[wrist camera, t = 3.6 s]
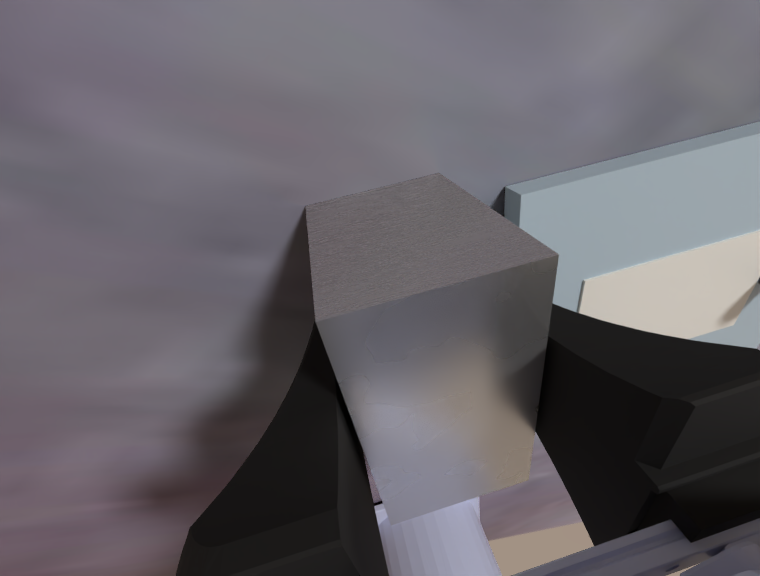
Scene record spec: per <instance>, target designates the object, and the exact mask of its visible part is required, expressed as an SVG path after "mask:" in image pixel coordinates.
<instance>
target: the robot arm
mask: <svg viewBox="0 0 760 576" xmlns="http://www.w3.org/2000/svg"><path fill="white" fill-rule="evenodd" d="M535 431H536V433H537V435H538V436H539V438H540V440H541V442H542V444H543V446H544V447H545V449H546V451H547V453H548V455H549V456H550V458H551V460H552V462H553V464H554V466H555V468H556V470H557V472H558V473H559V475H560V477H561V479H562V481H563V483H564V485H565V487H566V489H567V491H568V493H569V495H570V497H571V499H572V501H573V503H574V505H575V507H576V509H577V511H578V513H579V515H580V517H581V519H582V521H583V523H584V525H585V527H586V529H587V531H588V533H589V536H590V538H591V540H592V542H593V544H594V547H591V548H588V549H585V550H583V551H580V552H577V553H574V554H571V555H568V556H566V557H563V558H560V559H557V560H554V561H551V562H549V563H546V564H543V565H540V566H537V567H534V568H532V569H529V570H526V571H523V572H520V573H517V574H515V575H512V576H666V575H669V574H671V573H674V572H677V571H680V570H682V569H685V568H688V567H690V566H693V565H696V564H698V565H696V566H694V567H692V568H690V569H688V570H686V571H685V572H682V573H681V574H680V576H760V351H759V350H758V349H755V348H748V347H740V346H733V345H725V344H717V343H709V342H702V341H695V340H689V339H684V338H678V337H672V336H667V335H661V334H657V333H652V332H647V331H642V330H638V329H634V328H630V327H626V326H622V325H617V324H614V323H610V322H606V321H603V320H599V319H596V318H593V317H590V316H587V315H583V314H580V313H577V312H574V311H571V310H568V309H566V308H563V307H561V306H558V305H555V304H553V303H552V310H551V318H550V325H549V332H548V340H547V347H546V355H545V362H544V369H543V377H542V384H541V391H540V399H539V406H538V413H537V421H536V428H535ZM699 563H700V564H699ZM176 576H502V574H501V572H500V569H499V567H498V564H497V562H496V559H495V557H494V555H493V552H492V550H491V547H490V545H489V543H488V540H487V538H486V535H485V533H484V530H483V528H482V526H481V523H480V509H479V497H476V498H473V499H470V500H467V501H464V502H461V503H458V504H455V505H452V506H449V507H446V508H442V509H439V510H436V511H433V512H430V513H427V514H424V515H421V516H418V517H415V518H412V519H409V520H406V521H403V522H400V523H397V524H394V525H391V524H390V521H389V518H388V516H387V513H386V510H385V508H384V505H383V503H382V504H379V505H376V506H374V503H373V498H372V493H371V489H370V484H369V479H368V474H367V469H366V464H365V459H364V454H363V448H362V446H361V443H360V440H359V438H358V435H357V432H356V430H355V427H354V424H353V422H352V419H351V416H350V413H349V411H348V408H347V405H346V403H345V400H344V397H343V395H342V392H341V389H340V387H339V384H338V381H337V378H336V376H335V373H334V370H333V368H332V365H331V362H330V360H329V357H328V354H327V352H326V349H325V346H324V344H323V341H322V338H321V335H320V333H319V330H318V327H317V325H316V322H315V321H314V325H313V329H312V333H311V336H310V339H309V343H308V346H307V348H306V351H305V354H304V357H303V359H302V362H301V365H300V367H299V369H298V372H297V374H296V376H295V378H294V381H293V383H292V385H291V387H290V389H289V391H288V393H287V395H286V397H285V399H284V401H283V403H282V405H281V407H280V408H279V410H278V412H277V414H276V415H275V417H274V419H273V420H272V422H271V424H270V425H269V427H268V428H267V430H266V432H265V433H264V435H263V436H262V438H261V439H260V441H259V442H258V444H257V445H256V447H255V448H254V450H253V451H252V452H251V454H250V455H249V456H248V458H247V459H246V461H245V462H244V463H243V465H242V466H241V467H240V469H239V470H238V471H237V473H236V474H235V475H234V477H233V478H232V479H231V481H230V482H229V483H228V484H227V486H226V487H225V488H224V489H223V490H222V492H221V493H220V494H219V495H218V496H217V497H216V499H215V500H214V501H213V502H212V503H211V504H210V505H209V507H208V508H207V509H206V510H205V511H204V512H203V514H202V515H201V516H200V517H199V518H198V519H197V520H196V522H195V523H194V524H193V525H192V526H191V527H190V529H189V532H188V536H187V539H186V542H185V545H184V547H183V550H182V554H181V557H180V561H179V564H178V569H177V573H176Z"/></svg>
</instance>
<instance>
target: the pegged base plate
mask: <svg viewBox="0 0 760 576" xmlns="http://www.w3.org/2000/svg"><path fill="white" fill-rule="evenodd" d="M504 217H505V218H506V219H508V220H509V221H511V222H512V223H513V224H515V225H516V226H518V227H519V228H521V229H522V230H524V231H525V232H527V233H528V234H530V235H531V236H533V237H534V238H536V239H537V240H538V241H540V242H541V243H543V244H544V245H546V246H547V247H549V248H550V249H552V250H553V251H555V252H556V253H558V254H559V259H558V266H557V274H556V281H555V288H554V296H553V304H555V305H558V306H561V307H563V308H566V309H568V310H571V311H574V312H577V313H580V314H583V315H587V316H590V317H593V318H596V319H599V320H603V321H606V322H610V323H614V324H617V325H622V326H626V327H630V328H634V329H638V330H642V331H647V332H652V333H657V334H661V335H667V336H672V337H678V338H684V339H689V340H695V341H702V342H709V343H717V344H725V345H733V346H740V347H748V348H755V349H757V347H758V345H759V344H760V122H756V123H752V124H748V125H744V126H740V127H736V128H732V129H728V130H724V131H720V132H717V133H713V134H709V135H705V136H701V137H697V138H693V139H689V140H685V141H681V142H677V143H674V144H670V145H666V146H662V147H658V148H654V149H650V150H646V151H642V152H638V153H634V154H630V155H627V156H623V157H619V158H615V159H611V160H607V161H603V162H599V163H595V164H591V165H587V166H584V167H580V168H576V169H572V170H568V171H564V172H560V173H556V174H552V175H548V176H544V177H541V178H537V179H533V180H529V181H525V182H521V183H517V184H513V185H509V186H505V208H504ZM535 432H536V431H535Z"/></svg>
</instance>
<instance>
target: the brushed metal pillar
mask: <svg viewBox="0 0 760 576" xmlns="http://www.w3.org/2000/svg"><path fill="white" fill-rule="evenodd" d="M305 207H306V219H307V230H308V242H309V253H310V265H311V276H312V288H313V300H314V311H315V322H316V325H317V327H318V330H319V333H320V335H321V338H322V341H323V344H324V346H325V349H326V352H327V354H328V357H329V360H330V362H331V365H332V368H333V370H334V373H335V376H336V378H337V381H338V384H339V387H340V389H341V392H342V395H343V397H344V400H345V403H346V405H347V408H348V411H349V413H350V416H351V419H352V422H353V424H354V427H355V430H356V432H357V435H358V438H359V440H360V443H361V446H362V448H363V451H364V454H365V456H366V459H367V462H368V465H369V467H370V470H371V473H372V475H373V478H374V481H375V483H376V486H377V489H378V491H379V494H380V497H381V499H382V502H383V505H384V508H385V510H386V513H387V516H388V518H389V521H390V524H391V525H394V524H397V523H400V522H403V521H406V520H409V519H412V518H415V517H418V516H421V515H424V514H427V513H430V512H433V511H436V510H439V509H442V508H446V507H449V506H452V505H455V504H458V503H461V502H464V501H467V500H470V499H473V498H476V497H479V496H482V495H485V494H488V493H491V492H494V491H497V490H500V489H503V488H506V487H509V486H512V485H515V484H518V483H521V482H524V481H527V480H528V479H529V472H530V465H531V457H532V450H533V443H534V435H535V428H536V421H537V413H538V406H539V399H540V391H541V384H542V377H543V369H544V362H545V355H546V347H547V340H548V332H549V325H550V318H551V310H552V303H553V296H554V288H555V281H556V274H557V266H558V259H559V254H558V253H556V252H555V251H553V250H552V249H550V248H549V247H547V246H546V245H544V244H543V243H541V242H540V241H538V240H537V239H536V238H534V237H533V236H531V235H530V234H528V233H527V232H525V231H524V230H522V229H521V228H519V227H518V226H516V225H515V224H513V223H512V222H511V221H509V220H508V219H506V218H505V217H503V216H502V215H500V214H499V213H497V212H496V211H494V210H493V209H491V208H490V207H488V206H487V205H485V204H484V203H483V202H481V201H480V200H478V199H477V198H475V197H474V196H472V195H471V194H469V193H468V192H466V191H465V190H463V189H462V188H460V187H459V186H458V185H456V184H455V183H453V182H452V181H450V180H449V179H447V178H446V177H444V176H443V175H441V174H440V173H436V174H432V175H428V176H424V177H420V178H416V179H412V180H408V181H404V182H400V183H396V184H392V185H388V186H384V187H380V188H376V189H372V190H368V191H364V192H360V193H356V194H352V195H347V196H343V197H339V198H335V199H331V200H327V201H323V202H319V203H315V204H311V205H307V206H305Z"/></svg>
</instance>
